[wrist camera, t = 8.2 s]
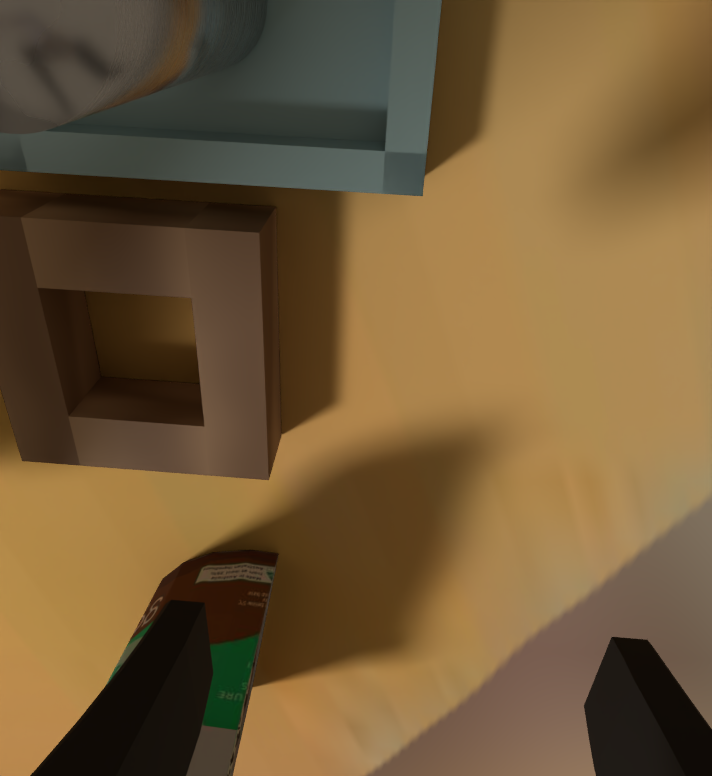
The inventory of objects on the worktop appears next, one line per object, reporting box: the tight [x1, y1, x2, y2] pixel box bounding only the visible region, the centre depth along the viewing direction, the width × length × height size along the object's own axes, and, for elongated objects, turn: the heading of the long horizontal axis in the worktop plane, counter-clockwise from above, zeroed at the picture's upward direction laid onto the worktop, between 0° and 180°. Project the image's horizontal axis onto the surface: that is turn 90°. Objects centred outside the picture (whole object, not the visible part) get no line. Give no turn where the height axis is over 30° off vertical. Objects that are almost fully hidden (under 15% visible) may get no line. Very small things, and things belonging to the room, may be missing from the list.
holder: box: [0, 190, 281, 480], centre depth 19 cm, size 8×8×2 cm
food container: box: [106, 550, 279, 776], centre depth 23 cm, size 12×6×10 cm, turn 168°
